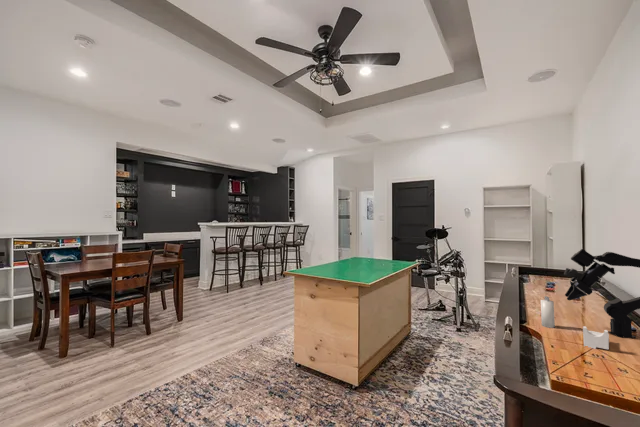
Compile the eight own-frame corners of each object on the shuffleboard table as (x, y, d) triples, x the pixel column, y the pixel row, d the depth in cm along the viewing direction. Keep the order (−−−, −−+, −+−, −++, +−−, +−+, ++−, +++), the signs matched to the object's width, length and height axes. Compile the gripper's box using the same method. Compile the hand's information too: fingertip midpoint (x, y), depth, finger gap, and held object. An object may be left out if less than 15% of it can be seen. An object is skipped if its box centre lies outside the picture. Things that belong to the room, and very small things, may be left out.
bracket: (608, 352, 111) (607, 332, 112) (583, 347, 116) (582, 327, 117) (609, 342, 121) (608, 324, 121) (586, 338, 126) (585, 320, 126)
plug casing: (557, 328, 138) (556, 298, 139) (546, 327, 138) (544, 297, 139) (550, 324, 143) (548, 295, 144) (539, 324, 143) (537, 295, 144)
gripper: (572, 260, 146) (548, 282, 151) (577, 264, 131) (550, 288, 136) (597, 276, 140) (571, 298, 145) (604, 281, 125) (575, 306, 130)
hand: (566, 297), depth 139 cm, fingers open, 9 cm apart
